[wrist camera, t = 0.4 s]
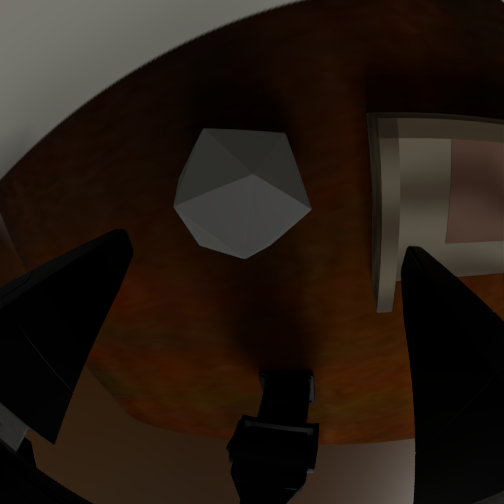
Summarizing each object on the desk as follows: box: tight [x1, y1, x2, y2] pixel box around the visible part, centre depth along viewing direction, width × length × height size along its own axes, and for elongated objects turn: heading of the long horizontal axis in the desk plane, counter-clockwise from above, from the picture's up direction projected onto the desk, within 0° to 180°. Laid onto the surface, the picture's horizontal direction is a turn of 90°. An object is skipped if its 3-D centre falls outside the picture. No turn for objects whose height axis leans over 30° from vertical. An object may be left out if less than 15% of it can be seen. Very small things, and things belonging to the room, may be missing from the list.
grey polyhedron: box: [174, 129, 312, 259], centre depth 20 cm, size 8×9×10 cm
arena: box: [366, 112, 504, 313], centre depth 18 cm, size 14×16×4 cm
